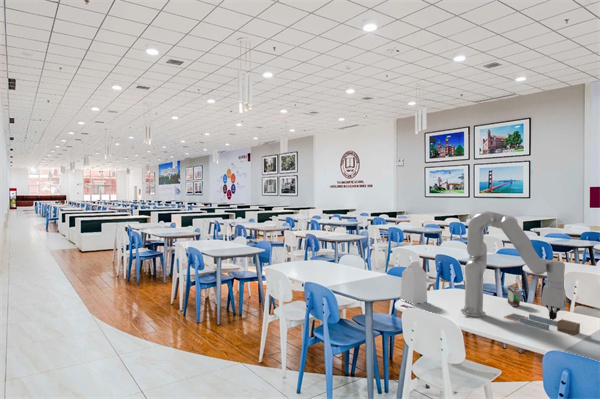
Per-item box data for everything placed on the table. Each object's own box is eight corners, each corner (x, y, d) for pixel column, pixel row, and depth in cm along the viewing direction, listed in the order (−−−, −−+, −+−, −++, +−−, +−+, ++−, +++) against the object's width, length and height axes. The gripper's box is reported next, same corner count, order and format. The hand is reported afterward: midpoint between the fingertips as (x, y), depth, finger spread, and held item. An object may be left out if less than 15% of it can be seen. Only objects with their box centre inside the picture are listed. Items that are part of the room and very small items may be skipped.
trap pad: (518, 321, 211) (518, 320, 211) (503, 317, 218) (503, 316, 218) (527, 317, 217) (527, 316, 217) (513, 313, 224) (513, 312, 224)
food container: (524, 308, 234) (525, 292, 234) (513, 307, 236) (514, 291, 235) (517, 302, 246) (517, 287, 246) (506, 302, 248) (507, 286, 247)
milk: (413, 304, 239) (414, 263, 238) (400, 300, 249) (401, 260, 248) (427, 302, 245) (428, 261, 244) (413, 297, 255) (414, 258, 254)
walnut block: (575, 335, 192) (575, 325, 192) (557, 330, 198) (557, 321, 198) (579, 333, 195) (579, 323, 195) (561, 328, 202) (561, 319, 202)
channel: (547, 330, 199) (548, 325, 199) (519, 322, 210) (520, 317, 210) (557, 325, 205) (557, 321, 205) (529, 318, 216) (529, 314, 216)
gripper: (536, 282, 205) (534, 315, 206) (568, 289, 193) (565, 324, 193) (542, 280, 209) (540, 313, 210) (574, 287, 197) (571, 322, 198)
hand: (552, 318), depth 202 cm, fingers closed
